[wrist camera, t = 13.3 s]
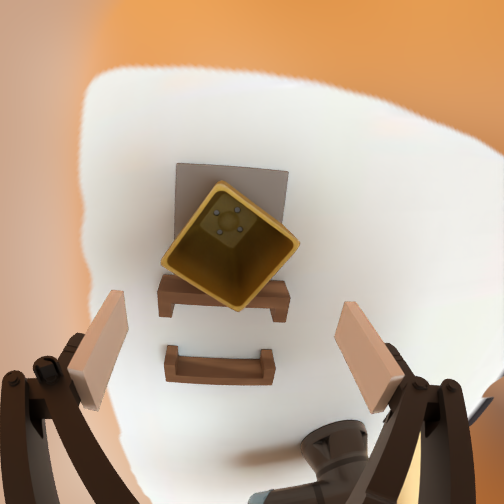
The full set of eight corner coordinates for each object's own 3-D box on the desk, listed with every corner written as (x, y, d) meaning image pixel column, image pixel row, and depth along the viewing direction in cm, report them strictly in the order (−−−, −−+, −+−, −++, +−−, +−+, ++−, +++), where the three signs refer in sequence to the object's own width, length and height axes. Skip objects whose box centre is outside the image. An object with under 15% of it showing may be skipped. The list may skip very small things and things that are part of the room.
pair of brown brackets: (268, 366, 43) (272, 385, 39) (169, 362, 41) (166, 381, 38) (284, 280, 37) (290, 297, 34) (163, 274, 35) (157, 291, 32)
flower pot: (235, 271, 35) (239, 315, 27) (173, 229, 33) (158, 264, 24) (283, 213, 33) (303, 243, 25) (220, 166, 30) (218, 180, 22)
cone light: (408, 426, 59) (456, 528, 27) (446, 420, 63) (491, 503, 31) (358, 470, 67) (388, 559, 35) (398, 463, 71) (430, 539, 39)
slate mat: (273, 269, 36) (274, 271, 36) (175, 264, 35) (174, 266, 34) (287, 171, 32) (288, 172, 31) (177, 163, 30) (176, 163, 30)
